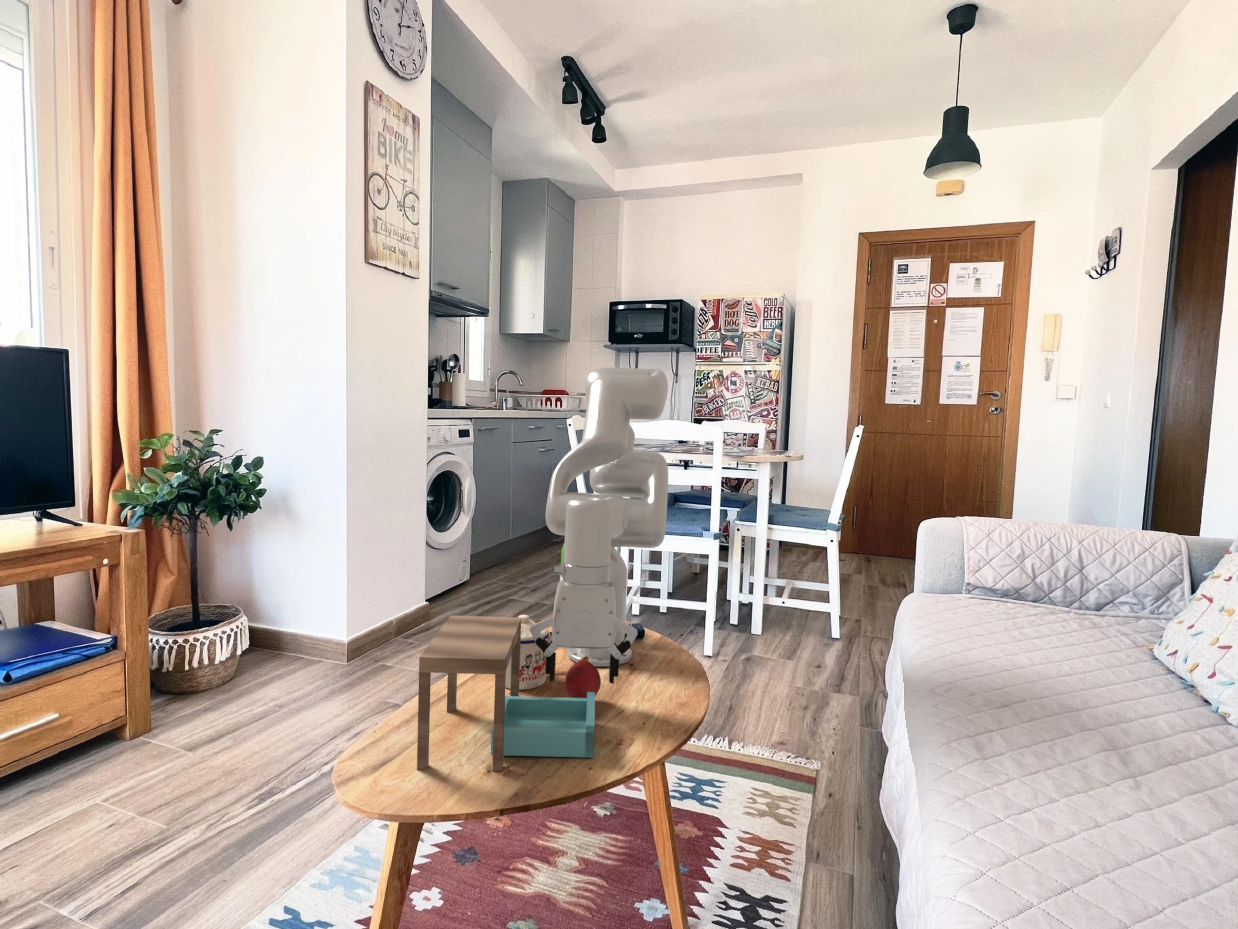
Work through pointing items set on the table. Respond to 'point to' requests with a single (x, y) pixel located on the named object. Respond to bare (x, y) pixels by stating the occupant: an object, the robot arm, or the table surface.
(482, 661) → the wooden stool
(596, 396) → the robot arm
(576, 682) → the onion
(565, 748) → the shelf tray
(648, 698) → the table surface
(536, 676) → the teacup with lid
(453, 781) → the table surface
